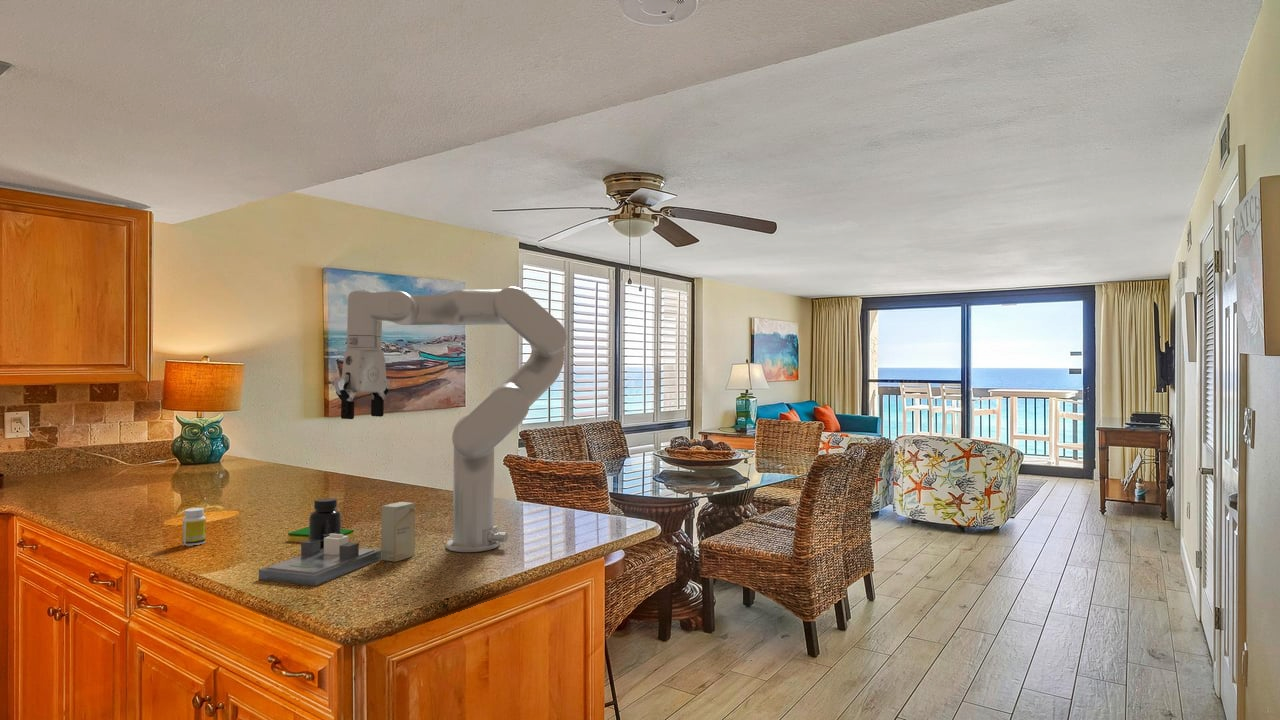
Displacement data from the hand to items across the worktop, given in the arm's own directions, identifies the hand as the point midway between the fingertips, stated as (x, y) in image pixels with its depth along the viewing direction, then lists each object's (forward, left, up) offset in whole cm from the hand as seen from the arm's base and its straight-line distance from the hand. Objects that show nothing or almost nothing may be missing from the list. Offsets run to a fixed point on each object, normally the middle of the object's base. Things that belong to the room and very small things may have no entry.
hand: (362, 417), depth 162 cm
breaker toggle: (-1, +9, -29) cm, 31 cm away
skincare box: (-11, +1, -32) cm, 33 cm away
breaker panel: (-1, +13, -31) cm, 34 cm away
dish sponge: (+18, -8, -32) cm, 38 cm away
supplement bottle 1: (+44, +5, -32) cm, 55 cm away
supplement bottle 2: (+9, +1, -32) cm, 33 cm away
